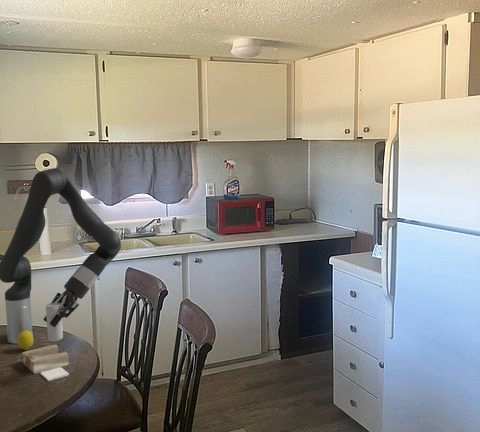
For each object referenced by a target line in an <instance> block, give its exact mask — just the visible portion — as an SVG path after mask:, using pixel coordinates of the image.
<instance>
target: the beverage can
mask: <svg viewBox="0 0 480 432" xmlns="http://www.w3.org/2000/svg"><path fill="white" fill-rule="evenodd" d="M60 305H61V304H60V303H51V302H50V303H47V304H46V305H45V313H46V315H45V316H46V317H47V322H46V329H47V339H48V340H49V341H51V342H57V341H59V342H60V340H62V339H63V338H64V332H63V331H64V329H63V318H62V319H61V320H60V321H59V323H58V324H57V325H56V327H53V326H52V325H50V322H51V320H52V319H53V318H54V317H55V315H56V314H57V313H58V311H59V309H60V308H59V306H60Z"/></svg>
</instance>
